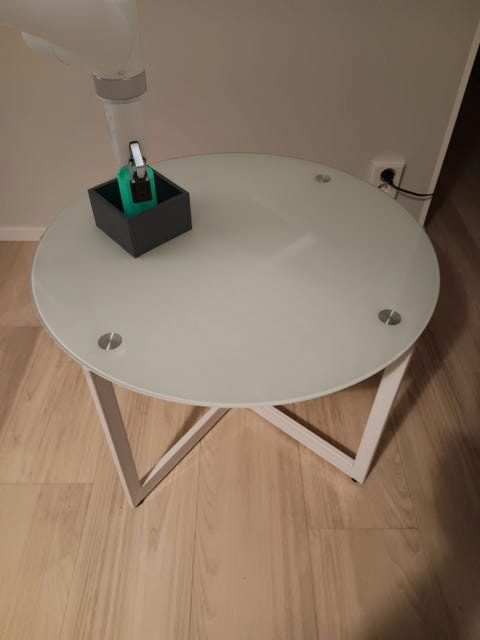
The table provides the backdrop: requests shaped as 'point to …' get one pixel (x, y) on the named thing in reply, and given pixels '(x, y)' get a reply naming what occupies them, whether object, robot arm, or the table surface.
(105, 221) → the bin
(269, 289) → the table surface
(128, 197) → the candle
